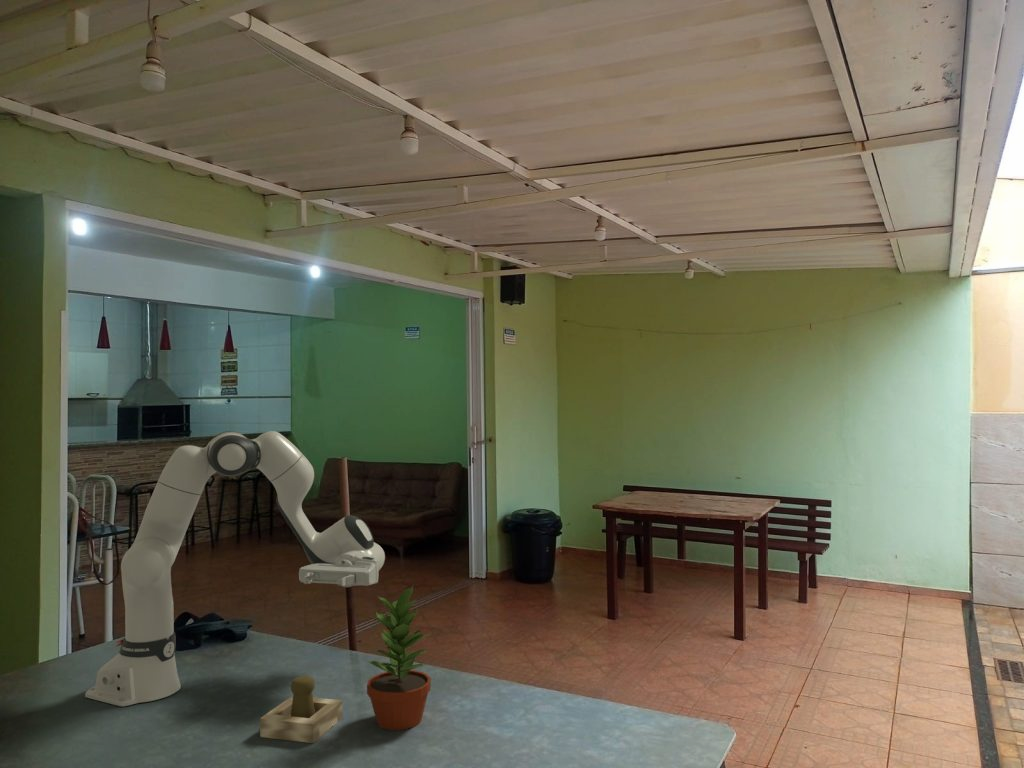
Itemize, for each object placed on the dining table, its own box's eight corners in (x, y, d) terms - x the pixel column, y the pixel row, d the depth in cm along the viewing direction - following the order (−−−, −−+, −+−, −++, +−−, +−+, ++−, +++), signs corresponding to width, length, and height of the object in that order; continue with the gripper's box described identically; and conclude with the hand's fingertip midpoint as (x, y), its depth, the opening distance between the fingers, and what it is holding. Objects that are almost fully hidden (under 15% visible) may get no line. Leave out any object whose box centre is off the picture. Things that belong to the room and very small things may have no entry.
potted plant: (352, 730, 164) (351, 594, 165) (388, 703, 178) (387, 578, 179) (411, 740, 158) (410, 600, 159) (443, 712, 173) (442, 583, 173)
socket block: (260, 736, 161) (260, 718, 161) (292, 712, 174) (292, 695, 174) (313, 743, 158) (313, 724, 158) (342, 717, 170) (342, 700, 170)
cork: (309, 733, 162) (309, 683, 163) (284, 731, 164) (283, 681, 164) (321, 721, 168) (321, 673, 169) (296, 720, 169) (296, 671, 170)
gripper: (314, 555, 201) (286, 567, 188) (383, 559, 196) (359, 570, 183) (314, 579, 201) (286, 592, 188) (383, 582, 196) (359, 596, 182)
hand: (322, 581), depth 185 cm, fingers open, 8 cm apart
